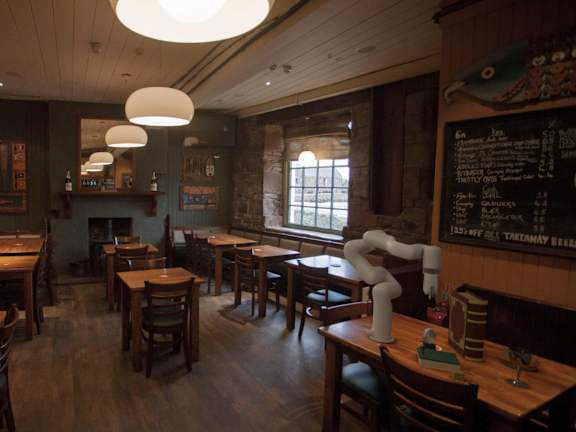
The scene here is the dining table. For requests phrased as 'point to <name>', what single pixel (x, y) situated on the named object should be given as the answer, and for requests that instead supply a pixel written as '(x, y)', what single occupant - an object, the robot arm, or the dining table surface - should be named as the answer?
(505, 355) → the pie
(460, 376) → the paperweight
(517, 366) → the wine glass
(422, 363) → the book
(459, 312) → the decorative book
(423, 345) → the book cover
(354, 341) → the dining table surface
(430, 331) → the grey black upright piece
